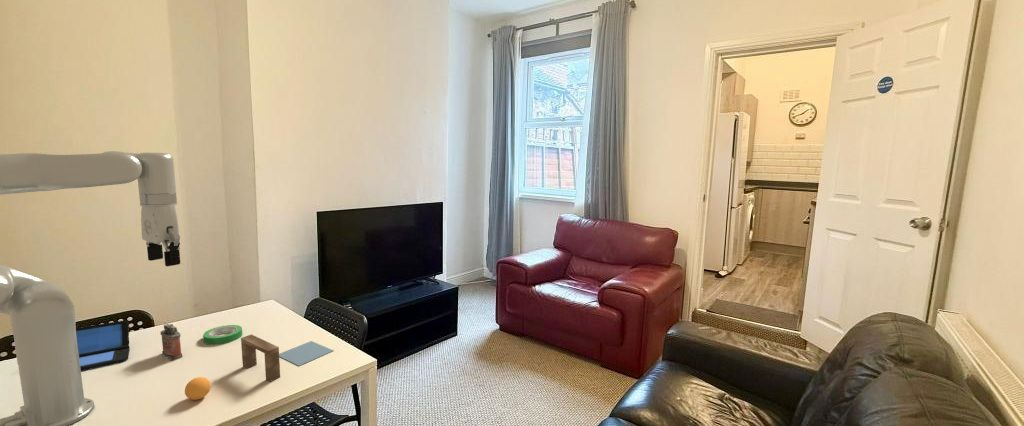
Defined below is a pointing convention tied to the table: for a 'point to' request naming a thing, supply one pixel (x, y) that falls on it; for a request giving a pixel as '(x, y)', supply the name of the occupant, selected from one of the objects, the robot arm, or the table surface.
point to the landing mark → (305, 353)
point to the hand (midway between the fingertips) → (164, 262)
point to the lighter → (171, 342)
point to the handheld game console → (103, 344)
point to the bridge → (270, 352)
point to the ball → (197, 388)
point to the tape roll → (215, 340)
